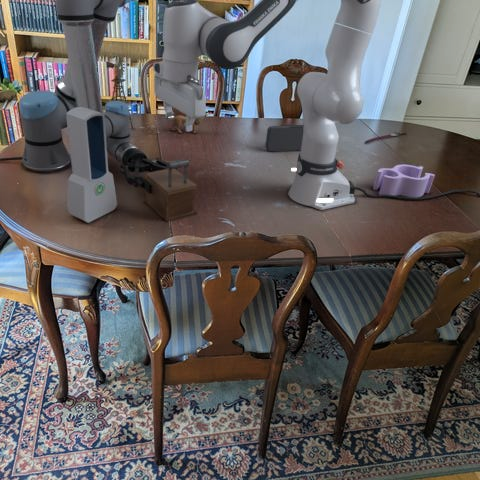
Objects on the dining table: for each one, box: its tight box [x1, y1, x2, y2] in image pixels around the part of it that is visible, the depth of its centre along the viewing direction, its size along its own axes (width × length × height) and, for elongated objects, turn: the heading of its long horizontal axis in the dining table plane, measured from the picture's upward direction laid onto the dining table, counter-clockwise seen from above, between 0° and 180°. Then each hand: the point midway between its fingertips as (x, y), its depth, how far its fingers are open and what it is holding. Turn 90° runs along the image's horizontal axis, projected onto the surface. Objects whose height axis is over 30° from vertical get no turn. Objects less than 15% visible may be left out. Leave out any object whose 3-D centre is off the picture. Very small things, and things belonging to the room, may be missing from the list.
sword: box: [365, 132, 406, 144], centre depth 214 cm, size 31×3×1 cm, turn 126°
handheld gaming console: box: [264, 124, 303, 152], centre depth 189 cm, size 23×3×10 cm, turn 108°
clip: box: [372, 164, 436, 198], centre depth 166 cm, size 20×12×7 cm, turn 109°
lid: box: [145, 158, 197, 195], centre depth 135 cm, size 13×10×9 cm
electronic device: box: [66, 107, 118, 224], centre depth 127 cm, size 12×8×30 cm, turn 148°
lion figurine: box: [168, 115, 204, 134], centre depth 195 cm, size 15×5×9 cm, turn 110°
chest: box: [145, 177, 196, 222], centre depth 140 cm, size 13×10×9 cm
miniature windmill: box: [105, 53, 134, 129], centre depth 184 cm, size 9×8×30 cm
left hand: (165, 185), depth 140 cm, fingers closed on chest, 9 cm apart
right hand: (178, 124), depth 124 cm, fingers open, 8 cm apart
